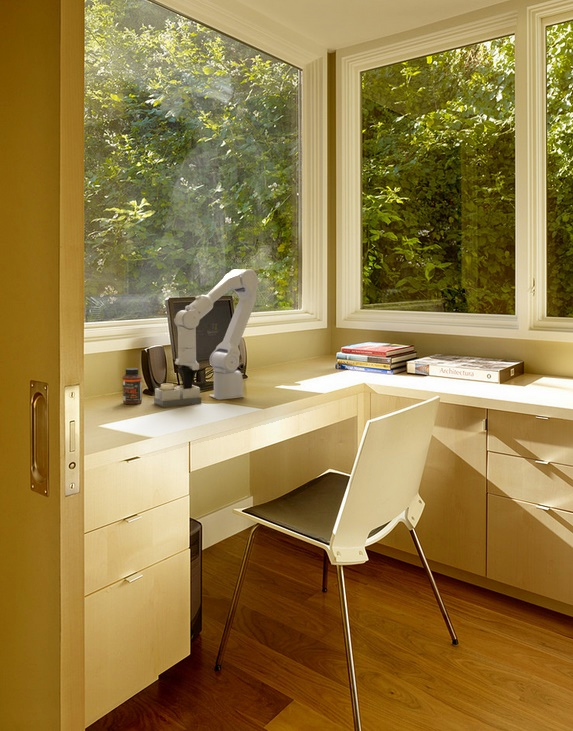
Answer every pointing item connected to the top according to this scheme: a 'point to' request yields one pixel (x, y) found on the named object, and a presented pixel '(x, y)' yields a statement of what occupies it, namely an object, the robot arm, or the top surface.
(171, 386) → the cream knob
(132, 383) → the supplement bottle
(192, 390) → the knob mount
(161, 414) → the top surface
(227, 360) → the robot arm
